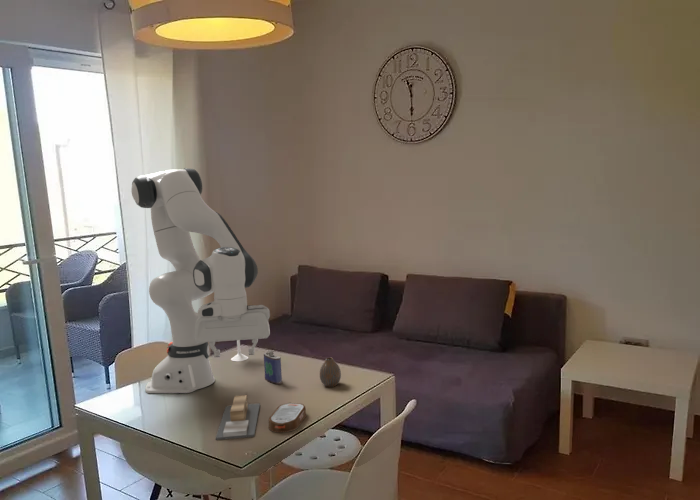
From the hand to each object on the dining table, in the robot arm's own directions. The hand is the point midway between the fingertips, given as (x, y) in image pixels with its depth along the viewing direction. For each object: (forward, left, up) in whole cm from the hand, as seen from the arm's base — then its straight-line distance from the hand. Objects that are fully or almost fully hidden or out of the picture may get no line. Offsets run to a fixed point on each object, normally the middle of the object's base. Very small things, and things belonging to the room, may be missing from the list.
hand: (234, 355), depth 163 cm
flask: (+8, +32, -19) cm, 38 cm away
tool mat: (0, 0, -19) cm, 19 cm away
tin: (+9, -2, -17) cm, 20 cm away
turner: (0, -2, -18) cm, 18 cm away
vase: (+27, +24, -19) cm, 41 cm away
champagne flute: (-6, +61, -19) cm, 64 cm away
